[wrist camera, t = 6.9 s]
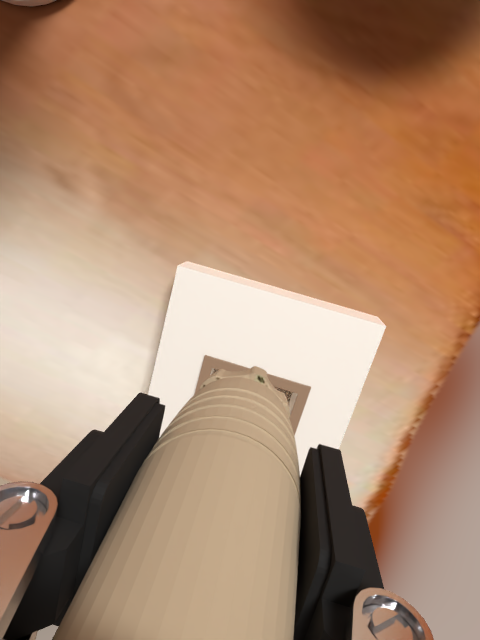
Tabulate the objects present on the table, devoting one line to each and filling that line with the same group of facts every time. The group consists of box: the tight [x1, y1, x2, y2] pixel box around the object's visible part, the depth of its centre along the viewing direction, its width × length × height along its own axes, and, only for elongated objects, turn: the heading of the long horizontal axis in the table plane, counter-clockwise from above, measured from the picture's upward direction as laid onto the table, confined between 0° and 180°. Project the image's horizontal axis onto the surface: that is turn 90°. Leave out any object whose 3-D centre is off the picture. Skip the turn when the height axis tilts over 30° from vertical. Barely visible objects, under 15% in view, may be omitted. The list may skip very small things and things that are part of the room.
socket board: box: [148, 261, 386, 475], centre depth 35 cm, size 22×16×3 cm
